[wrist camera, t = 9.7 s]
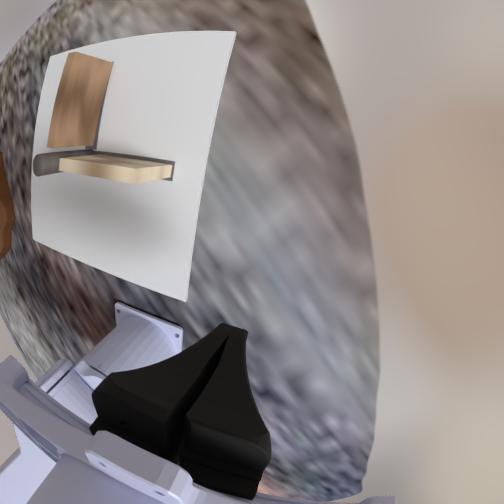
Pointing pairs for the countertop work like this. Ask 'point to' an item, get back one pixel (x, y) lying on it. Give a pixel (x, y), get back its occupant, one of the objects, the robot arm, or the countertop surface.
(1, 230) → the plant
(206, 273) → the countertop surface
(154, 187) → the card
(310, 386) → the countertop surface
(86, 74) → the brown wooden board
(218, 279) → the countertop surface
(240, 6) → the countertop surface
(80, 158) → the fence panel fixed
